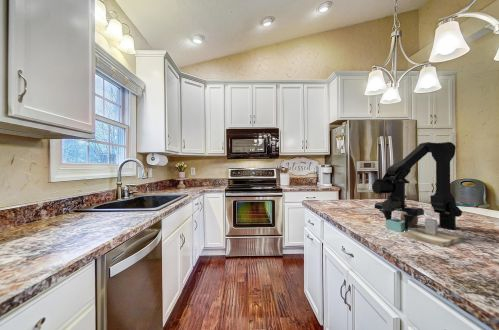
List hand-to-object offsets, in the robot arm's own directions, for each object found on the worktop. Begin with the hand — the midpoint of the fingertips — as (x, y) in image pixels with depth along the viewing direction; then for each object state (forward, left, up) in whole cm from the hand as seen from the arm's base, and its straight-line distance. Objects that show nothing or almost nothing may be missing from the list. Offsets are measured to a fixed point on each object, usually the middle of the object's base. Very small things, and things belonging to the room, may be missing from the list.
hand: (397, 227), depth 100 cm
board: (0, +13, -1) cm, 13 cm away
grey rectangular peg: (0, +13, +1) cm, 13 cm away
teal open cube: (0, 0, -1) cm, 1 cm away
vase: (-11, -1, -1) cm, 11 cm away
